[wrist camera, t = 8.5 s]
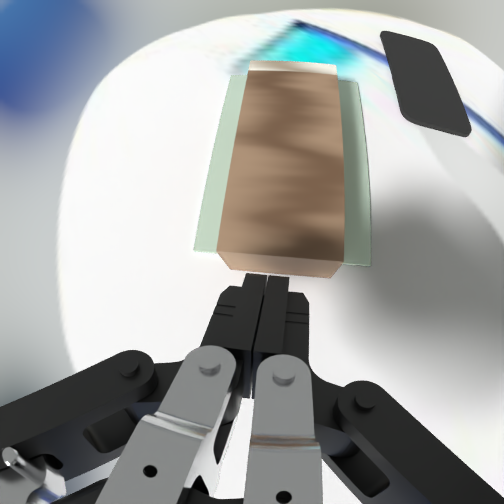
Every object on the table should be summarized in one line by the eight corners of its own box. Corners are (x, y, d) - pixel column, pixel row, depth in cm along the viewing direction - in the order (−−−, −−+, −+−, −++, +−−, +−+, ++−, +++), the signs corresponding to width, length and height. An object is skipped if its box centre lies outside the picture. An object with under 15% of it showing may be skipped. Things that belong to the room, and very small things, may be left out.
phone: (435, 44, 23) (475, 136, 19) (434, 49, 24) (471, 141, 20) (378, 28, 24) (403, 116, 20) (377, 34, 25) (400, 123, 21)
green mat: (356, 85, 22) (357, 82, 21) (369, 266, 17) (370, 265, 17) (231, 77, 23) (230, 75, 23) (194, 251, 19) (193, 250, 19)
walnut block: (330, 278, 17) (330, 101, 21) (343, 261, 13) (335, 65, 17) (230, 269, 18) (255, 97, 22) (216, 250, 14) (250, 60, 18)
